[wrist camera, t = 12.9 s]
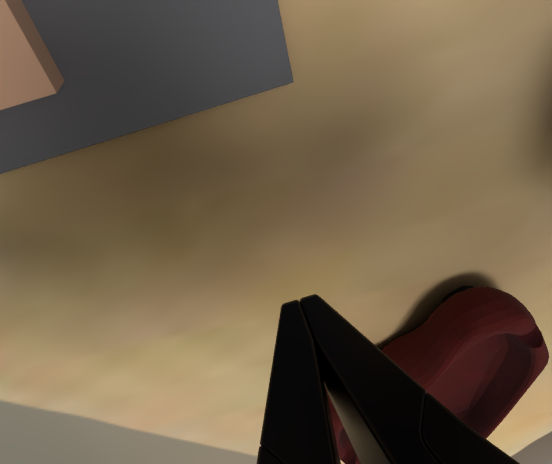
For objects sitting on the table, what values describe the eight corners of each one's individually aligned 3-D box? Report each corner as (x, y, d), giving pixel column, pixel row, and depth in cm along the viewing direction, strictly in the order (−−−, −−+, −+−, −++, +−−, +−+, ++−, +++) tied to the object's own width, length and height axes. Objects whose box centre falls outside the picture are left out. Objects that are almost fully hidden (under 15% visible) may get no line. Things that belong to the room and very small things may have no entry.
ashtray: (371, 442, 41) (394, 496, 37) (277, 383, 32) (295, 446, 28) (531, 346, 38) (575, 393, 34) (479, 248, 28) (532, 297, 24)
